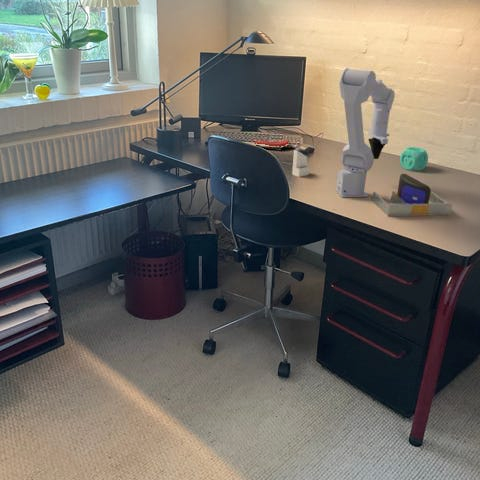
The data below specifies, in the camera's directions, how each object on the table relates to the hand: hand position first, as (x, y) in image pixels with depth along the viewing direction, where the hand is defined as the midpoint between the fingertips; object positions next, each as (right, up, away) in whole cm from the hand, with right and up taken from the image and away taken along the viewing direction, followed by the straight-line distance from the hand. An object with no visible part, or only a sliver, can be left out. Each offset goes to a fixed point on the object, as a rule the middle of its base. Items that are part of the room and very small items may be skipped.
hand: (375, 158), depth 198 cm
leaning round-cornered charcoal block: (+8, -19, -18) cm, 27 cm away
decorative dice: (+21, -1, +23) cm, 32 cm away
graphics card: (-44, +12, +49) cm, 67 cm away
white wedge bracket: (-26, -5, +11) cm, 29 cm away
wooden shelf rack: (+7, -19, -19) cm, 28 cm away
